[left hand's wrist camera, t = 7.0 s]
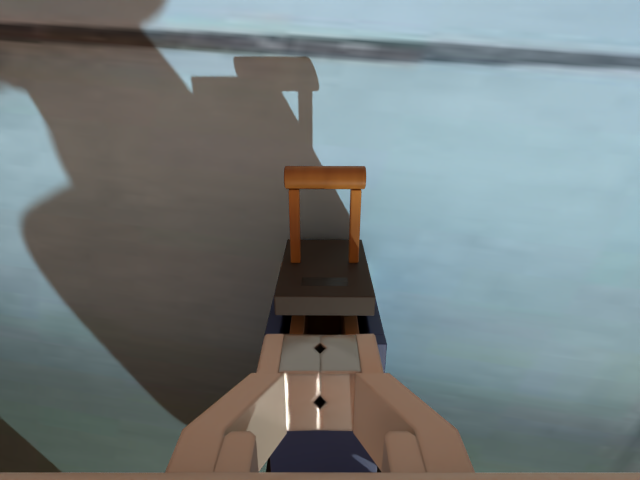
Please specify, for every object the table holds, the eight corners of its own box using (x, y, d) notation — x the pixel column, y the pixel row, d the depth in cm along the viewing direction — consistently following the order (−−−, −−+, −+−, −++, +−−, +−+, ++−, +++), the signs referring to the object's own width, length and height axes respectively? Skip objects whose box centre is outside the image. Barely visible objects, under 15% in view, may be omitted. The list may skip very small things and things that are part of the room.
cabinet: (281, 262, 29) (261, 343, 20) (367, 262, 29) (387, 344, 20) (289, 441, 36) (276, 562, 27) (358, 441, 36) (370, 563, 27)
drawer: (284, 155, 25) (267, 184, 18) (365, 155, 25) (382, 184, 18) (293, 421, 34) (284, 516, 26) (353, 422, 34) (362, 517, 26)
